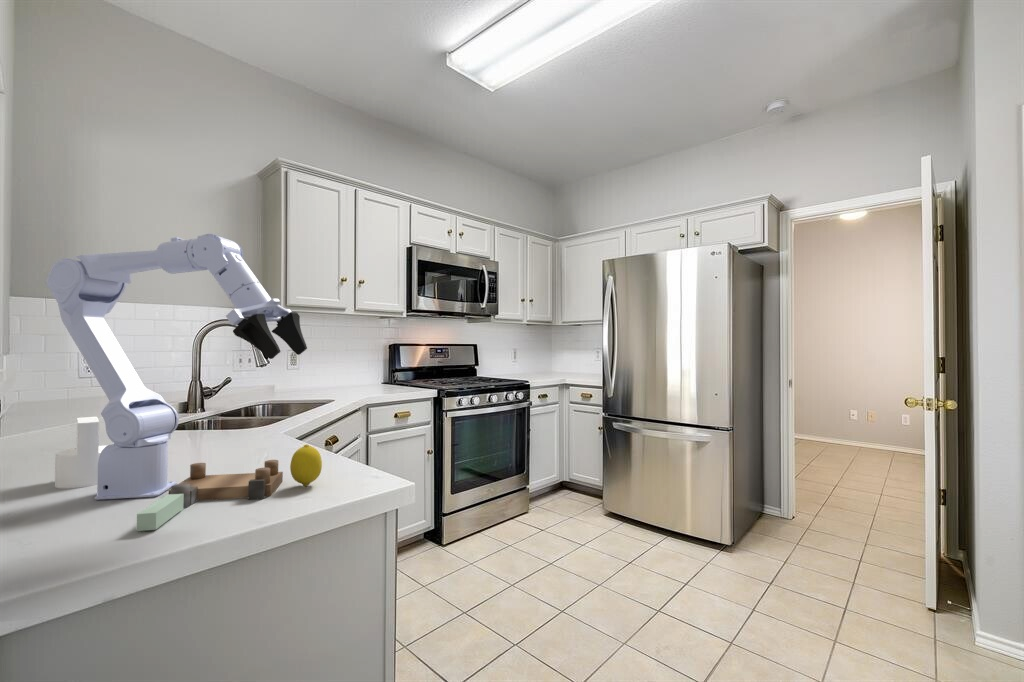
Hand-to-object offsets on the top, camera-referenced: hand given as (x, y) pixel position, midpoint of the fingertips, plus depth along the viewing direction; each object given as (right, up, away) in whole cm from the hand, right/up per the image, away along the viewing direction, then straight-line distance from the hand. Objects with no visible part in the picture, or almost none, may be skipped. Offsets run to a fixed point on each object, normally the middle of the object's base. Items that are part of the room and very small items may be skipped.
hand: (289, 353), depth 84 cm
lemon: (0, -26, +6) cm, 27 cm away
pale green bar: (-14, -25, -12) cm, 31 cm away
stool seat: (-12, -25, +1) cm, 28 cm away
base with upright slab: (-44, -25, +8) cm, 51 cm away
